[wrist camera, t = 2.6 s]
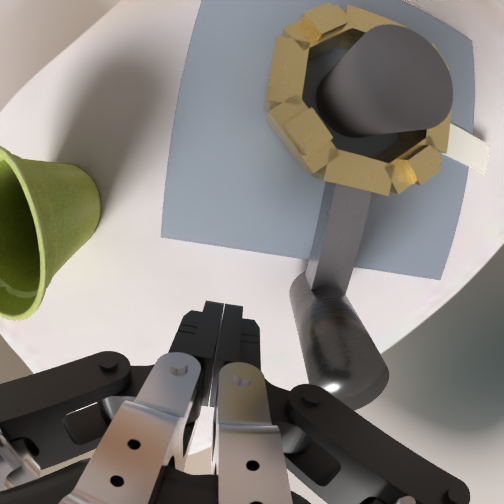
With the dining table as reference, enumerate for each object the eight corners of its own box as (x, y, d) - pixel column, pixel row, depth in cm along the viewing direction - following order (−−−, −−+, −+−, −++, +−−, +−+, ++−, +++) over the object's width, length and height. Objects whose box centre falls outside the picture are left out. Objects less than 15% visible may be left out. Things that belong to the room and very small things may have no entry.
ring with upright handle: (280, 13, 12) (298, -76, 4) (426, 61, 12) (512, 28, 4) (232, 303, 18) (218, 405, 10) (373, 320, 18) (426, 405, 10)
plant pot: (107, 122, 16) (18, 110, 7) (138, 252, 19) (71, 316, 10) (21, 166, 16) (-58, 183, 8) (50, 273, 19) (-16, 323, 11)
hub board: (217, -31, 12) (200, -102, 4) (479, 55, 13) (543, 38, 5) (166, 232, 18) (109, 285, 10) (448, 276, 19) (510, 326, 11)
